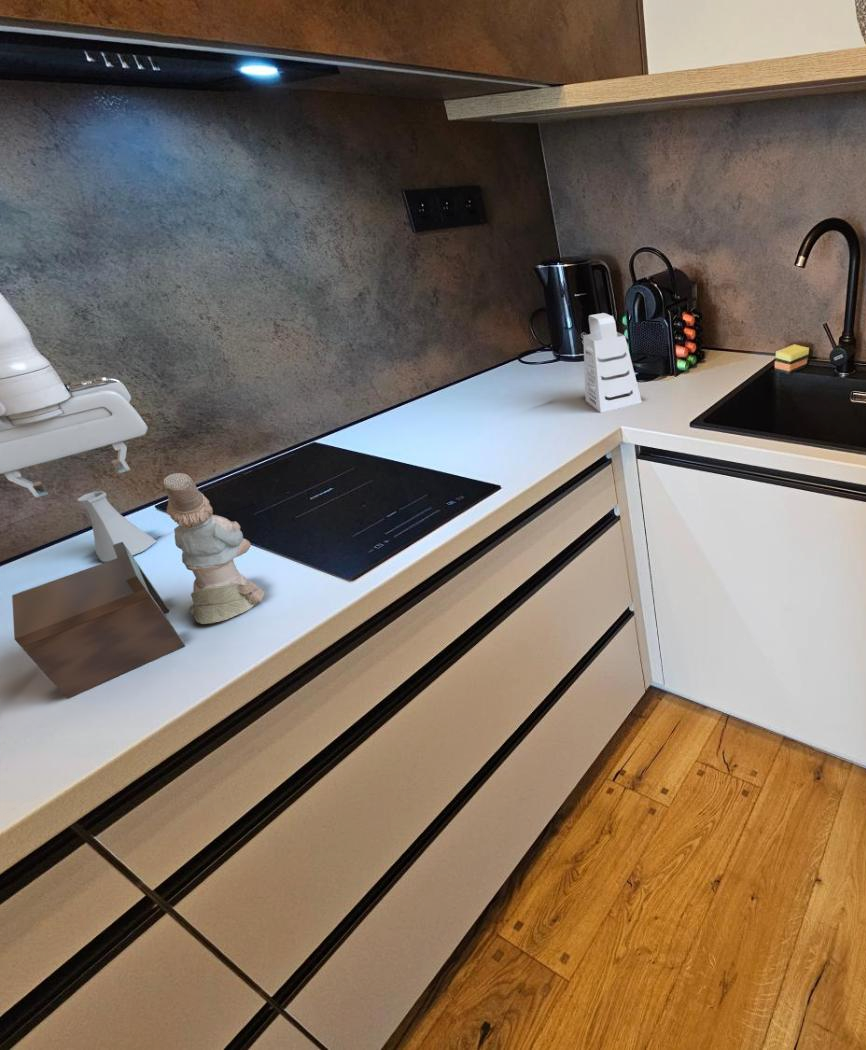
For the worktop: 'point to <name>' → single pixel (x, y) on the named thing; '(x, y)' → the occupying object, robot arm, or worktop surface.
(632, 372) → the grater
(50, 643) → the wooden block with backboard
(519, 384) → the worktop surface
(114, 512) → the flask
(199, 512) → the figurine
